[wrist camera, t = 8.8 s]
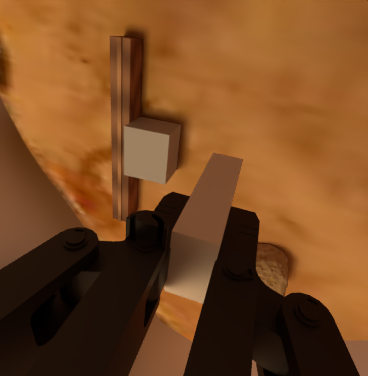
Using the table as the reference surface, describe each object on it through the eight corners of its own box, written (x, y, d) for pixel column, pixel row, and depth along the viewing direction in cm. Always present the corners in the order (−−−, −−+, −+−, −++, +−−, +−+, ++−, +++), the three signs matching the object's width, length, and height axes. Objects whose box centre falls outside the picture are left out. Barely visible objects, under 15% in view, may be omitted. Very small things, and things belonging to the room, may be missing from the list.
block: (140, 116, 45) (123, 126, 40) (181, 124, 44) (169, 135, 39) (139, 160, 49) (124, 174, 44) (176, 169, 48) (165, 184, 42)
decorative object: (240, 233, 54) (213, 275, 50) (281, 235, 45) (252, 286, 41) (266, 263, 57) (242, 305, 53) (310, 271, 48) (285, 322, 44)
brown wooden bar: (123, 36, 40) (108, 35, 36) (142, 39, 39) (129, 38, 36) (122, 207, 55) (112, 218, 51) (136, 210, 54) (126, 223, 50)
